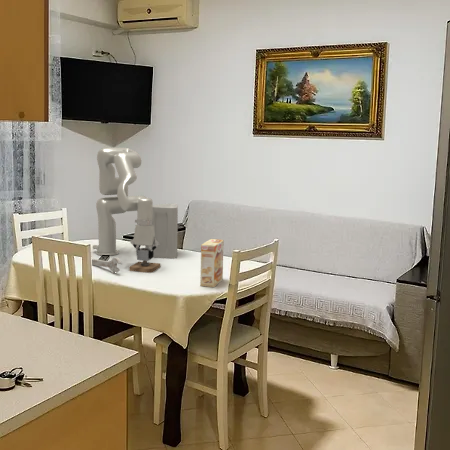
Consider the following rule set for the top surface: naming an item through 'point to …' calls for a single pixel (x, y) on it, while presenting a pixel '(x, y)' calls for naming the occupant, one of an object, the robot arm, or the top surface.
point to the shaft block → (144, 266)
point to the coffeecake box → (211, 262)
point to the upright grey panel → (165, 230)
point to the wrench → (108, 264)
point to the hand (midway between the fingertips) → (144, 257)
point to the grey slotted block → (143, 254)
